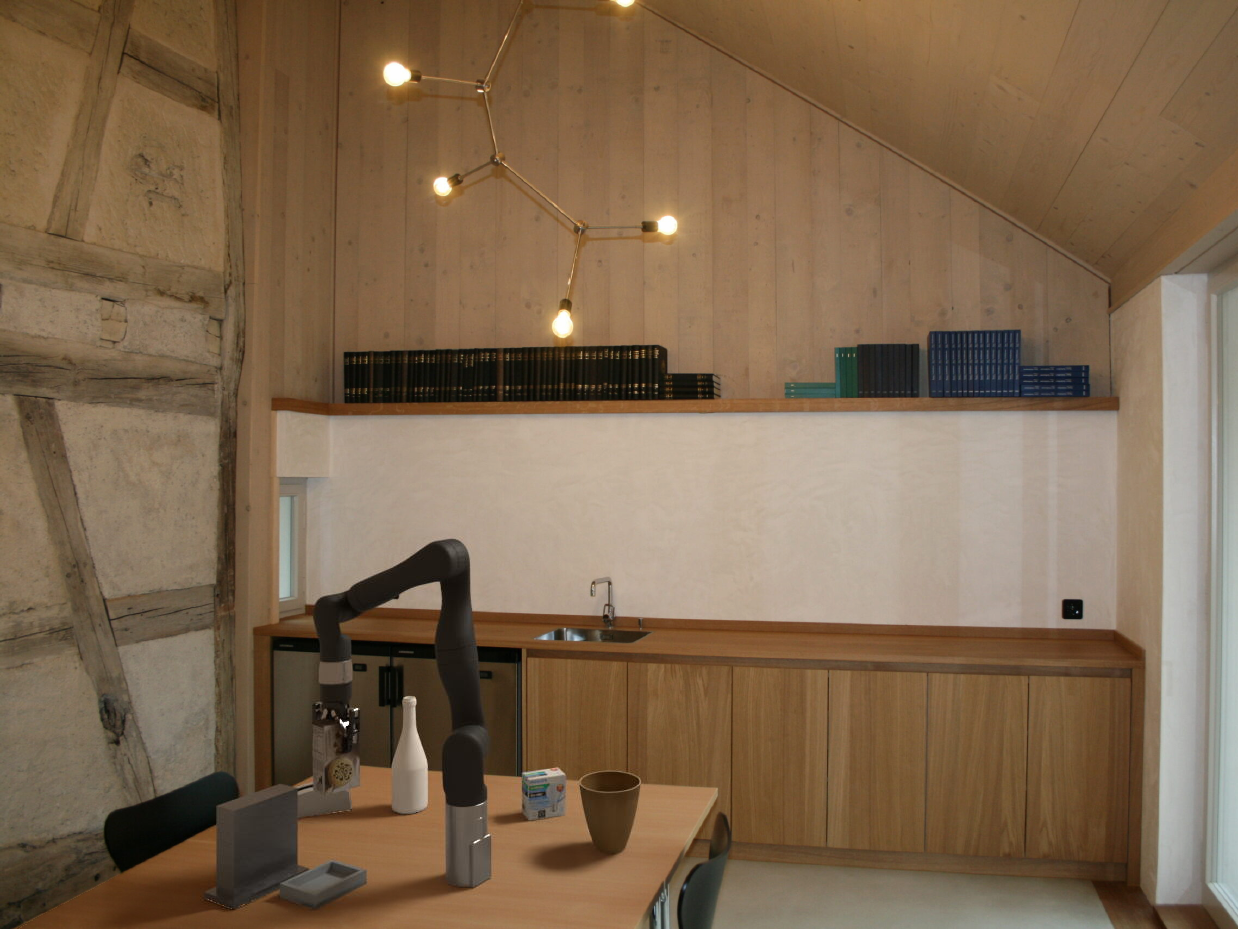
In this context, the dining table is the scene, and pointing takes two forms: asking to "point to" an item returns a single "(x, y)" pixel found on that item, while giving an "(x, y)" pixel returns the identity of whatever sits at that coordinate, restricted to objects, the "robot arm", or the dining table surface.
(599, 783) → the plant pot
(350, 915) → the dining table surface
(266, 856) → the upright panel on base
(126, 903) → the dining table surface
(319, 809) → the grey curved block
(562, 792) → the light bulb box
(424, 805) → the wine bottle
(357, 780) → the coffee box
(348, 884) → the parts tray
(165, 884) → the dining table surface
